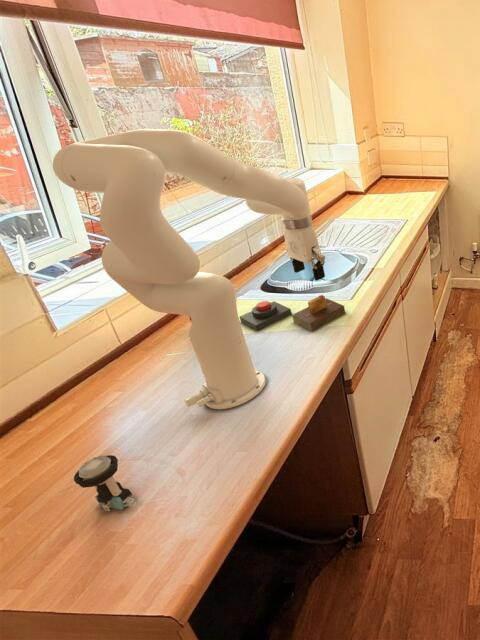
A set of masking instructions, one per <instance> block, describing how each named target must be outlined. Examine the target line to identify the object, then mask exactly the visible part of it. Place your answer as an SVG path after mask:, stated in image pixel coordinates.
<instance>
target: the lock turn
mask: <svg viewBox="0 0 480 640" xmlns="http://www.w3.org/2000/svg"><path fill="white" fill-rule="evenodd" d="M325 299H326V296H325V295H323V294H320V295H318V296H316V297H315V298H313V299H311V300H308V301H307V307H309V310H310V313H311V314H314V313H316V312H318V311H320V310H322V309H324V308H326V307H327V305H326V300H325Z"/></svg>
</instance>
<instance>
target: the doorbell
mask: <svg viewBox="0 0 480 640" xmlns="http://www.w3.org/2000/svg"><path fill="white" fill-rule="evenodd" d="M270 306H271V308H270V309H268V310H266V311H258V310H257V306H256V305H255V306H254V307H252V309H251V311H249V312H246V313H244V314H242V315H240V316H239V321H240V324H243V325H245V326H247V327H248V328H251V329H252V330H254V331H256V332H259V331H261V330H263V329H265V328H267V327H270V326H271V325H273V324H275V323H278V322H279V321H281V320H283V319H286V318H288V317H290V316H291V315H293V313H292V310H291V308H289V307H288V306H285V305H283V304H280V303H278V302H277V301H270Z"/></svg>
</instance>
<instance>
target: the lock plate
mask: <svg viewBox="0 0 480 640" xmlns="http://www.w3.org/2000/svg"><path fill="white" fill-rule="evenodd" d="M325 300H326V305H327V307H326V308H324V309H322V310H320V311H318V312H316V313H314V314H311V313H310V310H309V306H307V307H305V308H303V309H301V310H299V311H297V312H295V313H292V320H293V323H294V324H296V325H298V326H300V327H302V328H304V329H306V330H308V331H310V332H314V331H316V330H318V329H320V328H321V327H323V326H326V325H327V324H329V323H331V322H332V321H334V320H336V319H339V318H340V317H341V316H343V315H345V314H346V309H345V305H343V304H341V303H338V302H336V301H334V300H331V299H329V298H326V297H325Z"/></svg>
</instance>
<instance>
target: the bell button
mask: <svg viewBox="0 0 480 640" xmlns="http://www.w3.org/2000/svg"><path fill="white" fill-rule="evenodd" d="M270 303H271V301H268V300H264V301H261V302H260V301H259V302H258V303H257V304H256V305H255V306H257V310H258V311H266V310H268V309H270V308H271V306H270Z"/></svg>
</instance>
